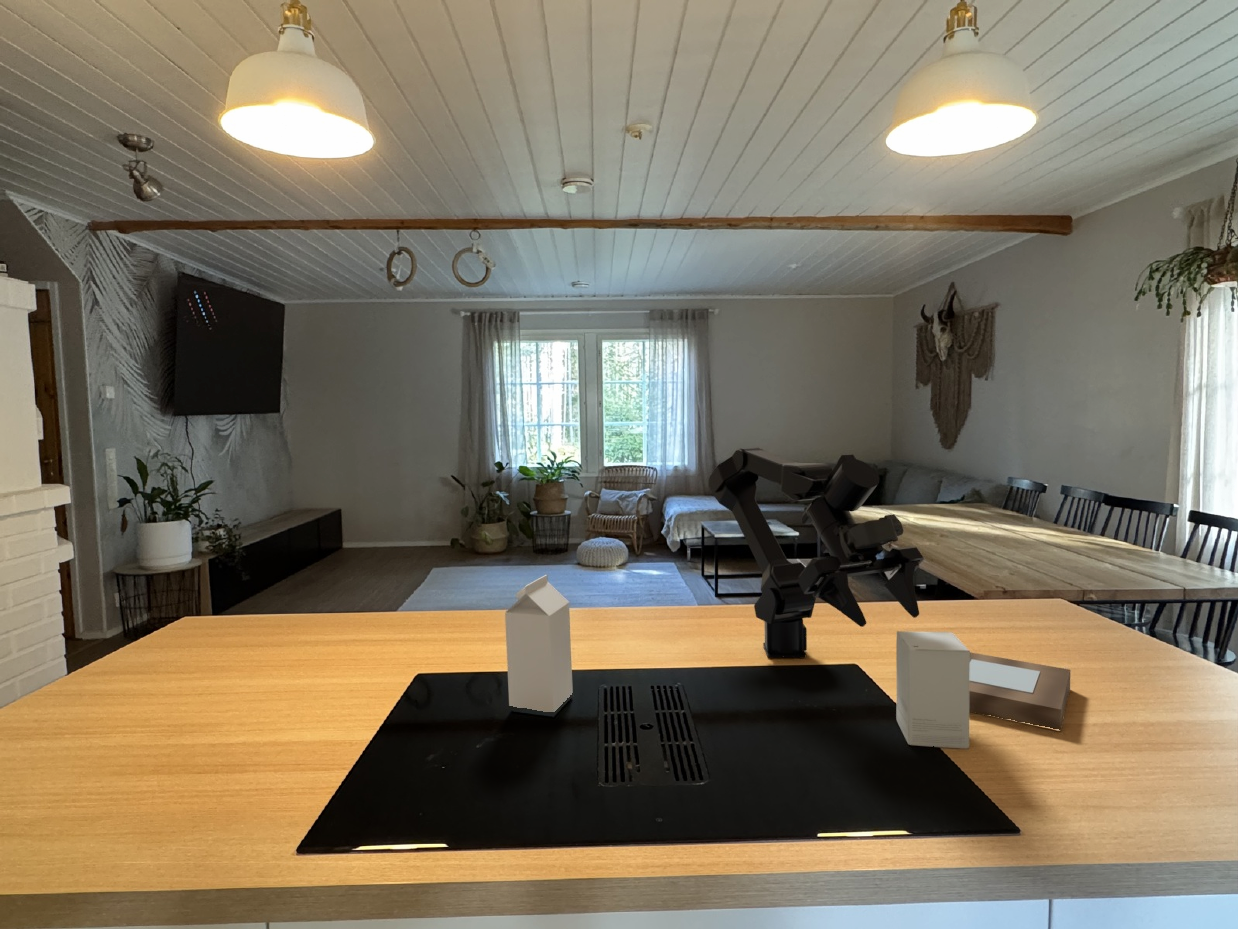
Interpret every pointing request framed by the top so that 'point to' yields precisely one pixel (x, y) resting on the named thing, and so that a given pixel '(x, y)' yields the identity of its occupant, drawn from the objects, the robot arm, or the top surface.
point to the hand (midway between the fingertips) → (890, 620)
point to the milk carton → (539, 648)
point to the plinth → (1018, 690)
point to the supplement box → (933, 689)
